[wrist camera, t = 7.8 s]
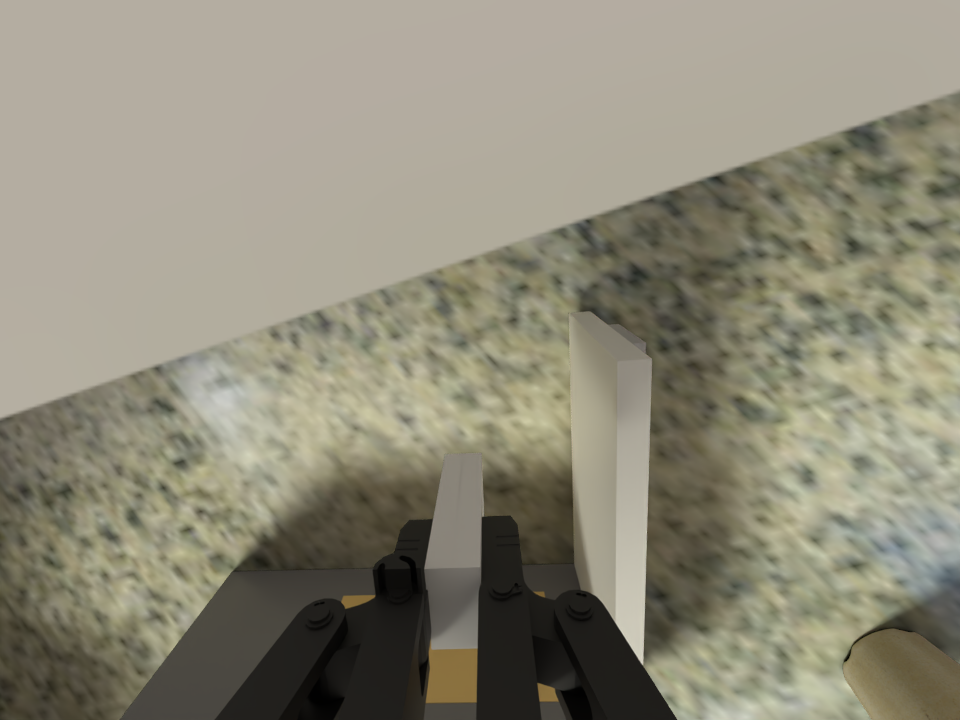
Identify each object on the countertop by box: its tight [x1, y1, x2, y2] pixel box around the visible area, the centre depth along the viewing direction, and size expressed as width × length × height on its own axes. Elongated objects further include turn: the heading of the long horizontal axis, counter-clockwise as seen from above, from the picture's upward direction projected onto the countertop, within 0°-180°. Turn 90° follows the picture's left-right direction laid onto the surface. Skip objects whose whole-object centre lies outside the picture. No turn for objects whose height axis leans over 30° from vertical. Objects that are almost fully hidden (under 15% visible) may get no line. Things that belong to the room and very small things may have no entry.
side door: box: [569, 311, 652, 665], centre depth 23 cm, size 17×2×10 cm, turn 4°
